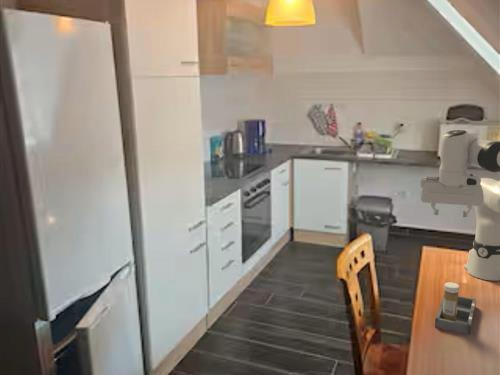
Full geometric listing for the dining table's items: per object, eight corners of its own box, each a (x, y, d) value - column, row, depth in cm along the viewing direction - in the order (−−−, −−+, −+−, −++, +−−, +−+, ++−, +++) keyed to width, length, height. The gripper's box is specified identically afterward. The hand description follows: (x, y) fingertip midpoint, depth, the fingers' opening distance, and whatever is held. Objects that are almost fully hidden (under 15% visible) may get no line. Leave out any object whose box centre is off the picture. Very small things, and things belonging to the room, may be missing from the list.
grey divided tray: (443, 301, 174) (444, 292, 173) (475, 308, 169) (476, 298, 168) (434, 328, 156) (435, 318, 155) (469, 336, 151) (470, 325, 150)
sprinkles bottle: (458, 321, 159) (462, 284, 156) (451, 326, 156) (455, 289, 153) (445, 316, 162) (448, 280, 159) (438, 320, 160) (442, 284, 156)
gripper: (420, 178, 164) (418, 216, 168) (485, 181, 156) (482, 220, 160) (421, 174, 170) (420, 210, 173) (484, 176, 162) (481, 215, 165)
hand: (450, 215), depth 166 cm, fingers open, 8 cm apart
